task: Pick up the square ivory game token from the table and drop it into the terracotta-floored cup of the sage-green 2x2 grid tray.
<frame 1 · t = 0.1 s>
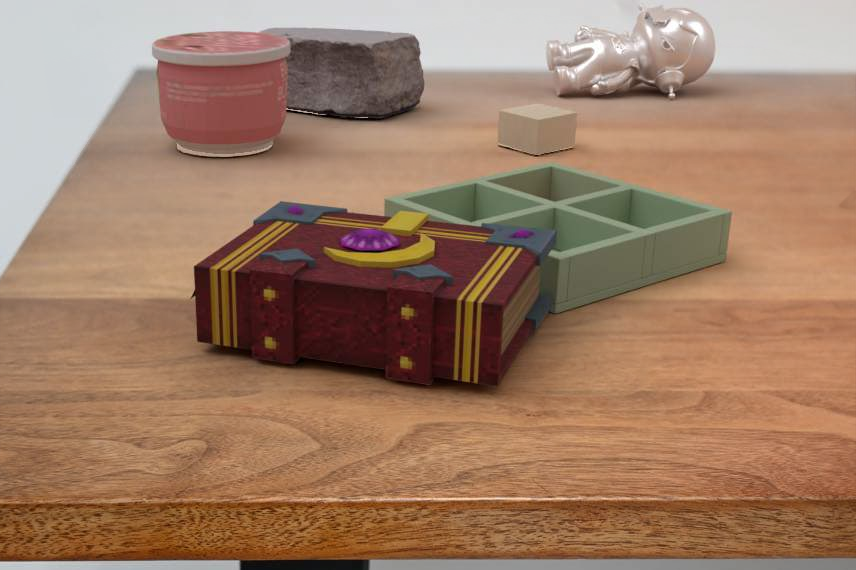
grid: (551, 253, 74), on the table
container: (224, 148, 98), on the table
token: (535, 147, 97), on the table
decorative stone: (338, 112, 110), on the table
figurine: (626, 94, 117), on the table
decorative book: (367, 334, 63), on the table
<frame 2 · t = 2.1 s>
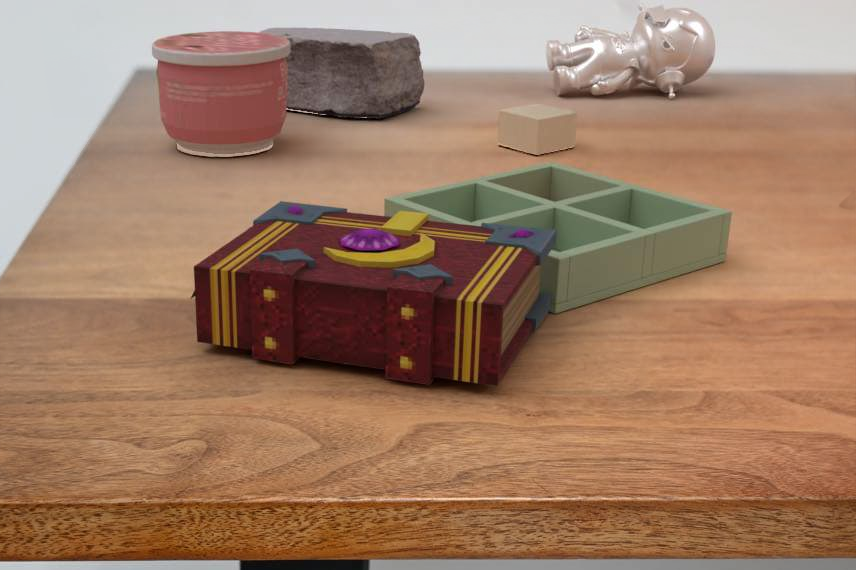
nothing on the table moved.
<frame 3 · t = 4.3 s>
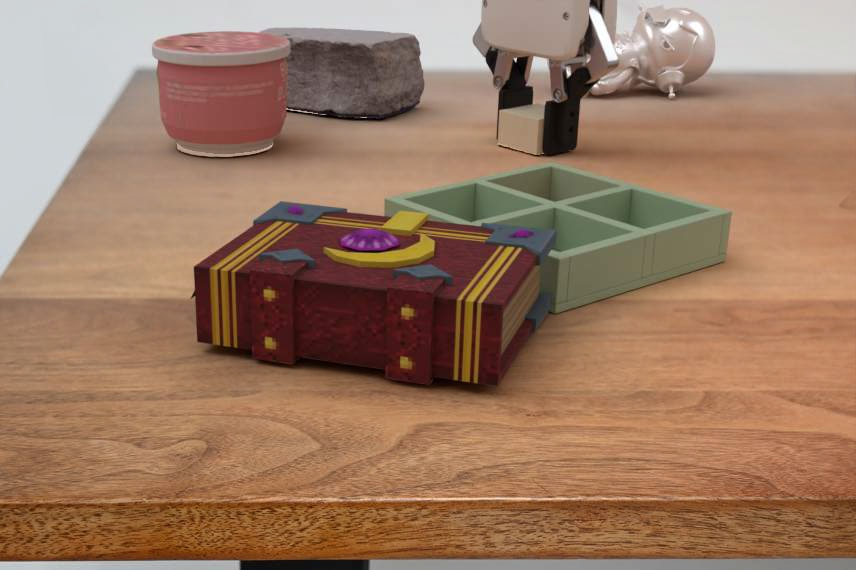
hand: (536, 142, 97), 0 cm above the table, tool pointing down, fingers closed on token, 4 cm apart
token: (535, 147, 97), on the table, touching gripper
everything else where it was.
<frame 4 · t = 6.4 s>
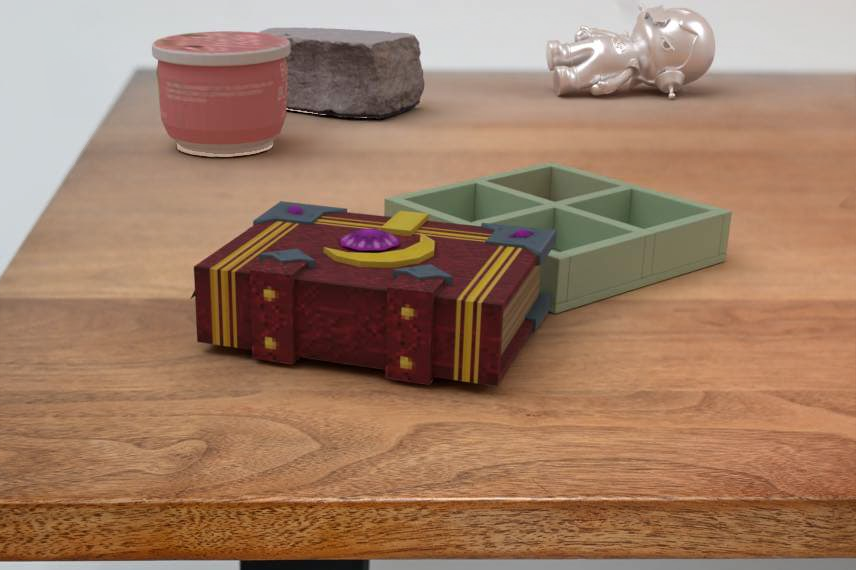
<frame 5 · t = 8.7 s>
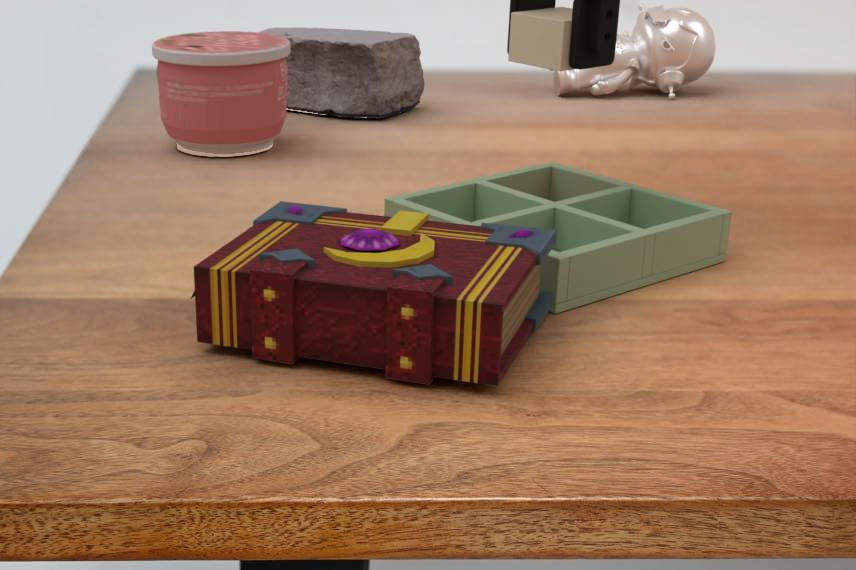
hand: (559, 57, 74), 11 cm above the table, tool pointing down, fingers closed on token, 4 cm apart
token: (558, 62, 74), point 10 cm above the table, touching gripper
everything else where it was.
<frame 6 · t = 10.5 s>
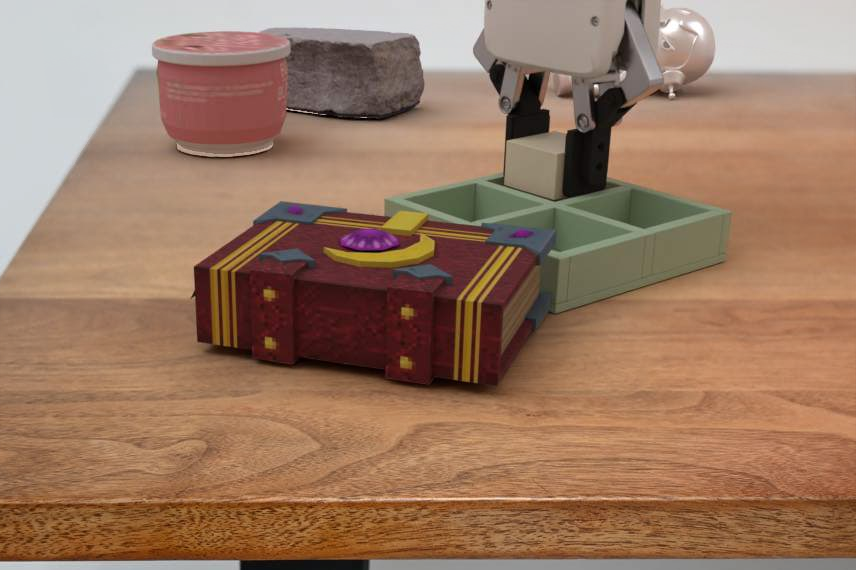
hand: (553, 181, 77), 3 cm above the table, tool pointing down, fingers closed on token, 4 cm apart
token: (552, 187, 77), point 3 cm above the table, touching gripper
everything else where it was.
when the fingers open (3 cm above the table, at t = 13.5 s): token drops 2 cm, resting on grid.
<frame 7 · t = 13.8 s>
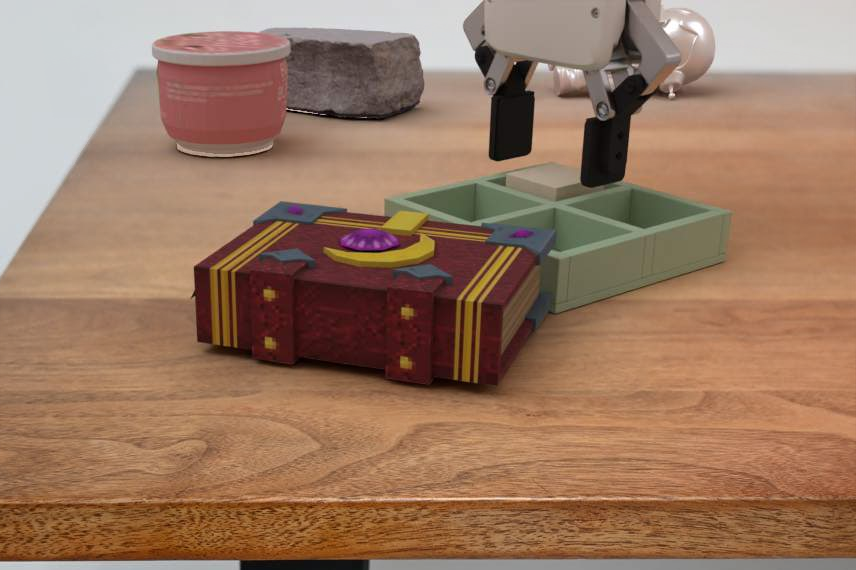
hand: (554, 167, 76), 4 cm above the table, tool pointing down, fingers open, 7 cm apart
token: (552, 219, 77), point 1 cm above the table, touching grid
everything else where it was.
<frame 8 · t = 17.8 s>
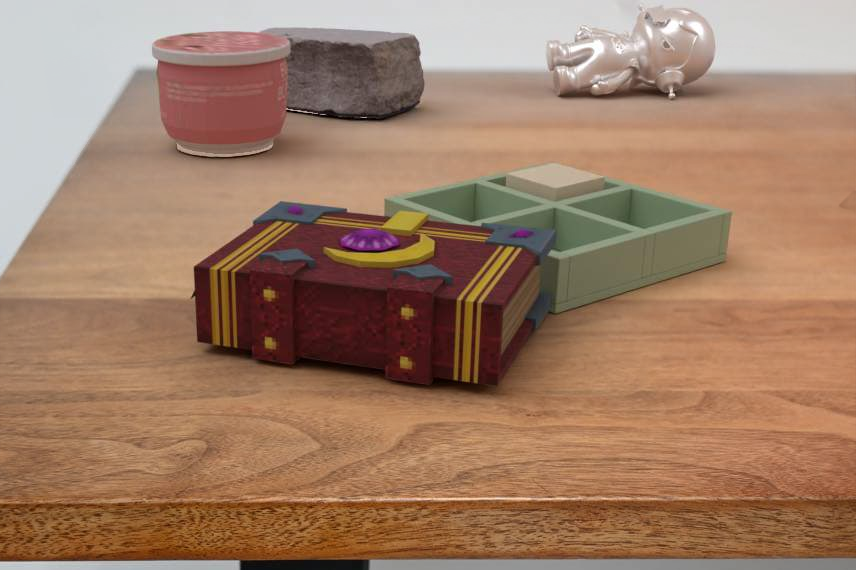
nothing on the table moved.
at the end: token 0.1 cm from the target spot in the grid, point 0.7 cm above the grid's base; token tilted 0°; the gripper is holding nothing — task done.
